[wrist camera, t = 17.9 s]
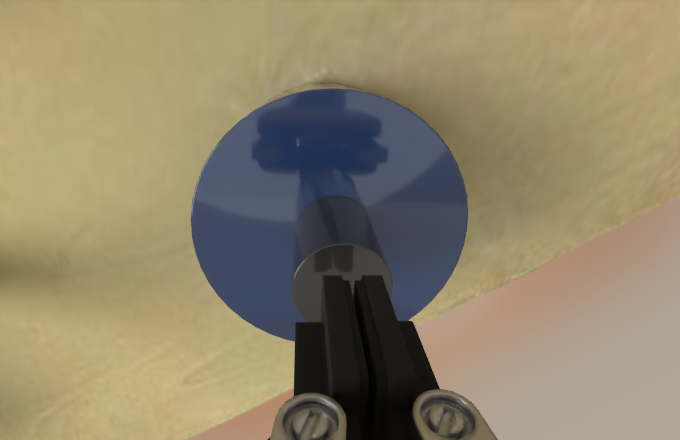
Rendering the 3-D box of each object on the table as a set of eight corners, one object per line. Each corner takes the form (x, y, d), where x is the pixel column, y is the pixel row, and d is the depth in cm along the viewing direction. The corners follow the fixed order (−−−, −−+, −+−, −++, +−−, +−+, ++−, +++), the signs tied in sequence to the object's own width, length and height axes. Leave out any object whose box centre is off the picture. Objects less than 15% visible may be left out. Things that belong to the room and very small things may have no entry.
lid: (166, 290, 21) (114, 380, 15) (246, 35, 17) (216, 26, 11) (392, 356, 24) (420, 453, 18) (507, 150, 20) (591, 190, 14)
